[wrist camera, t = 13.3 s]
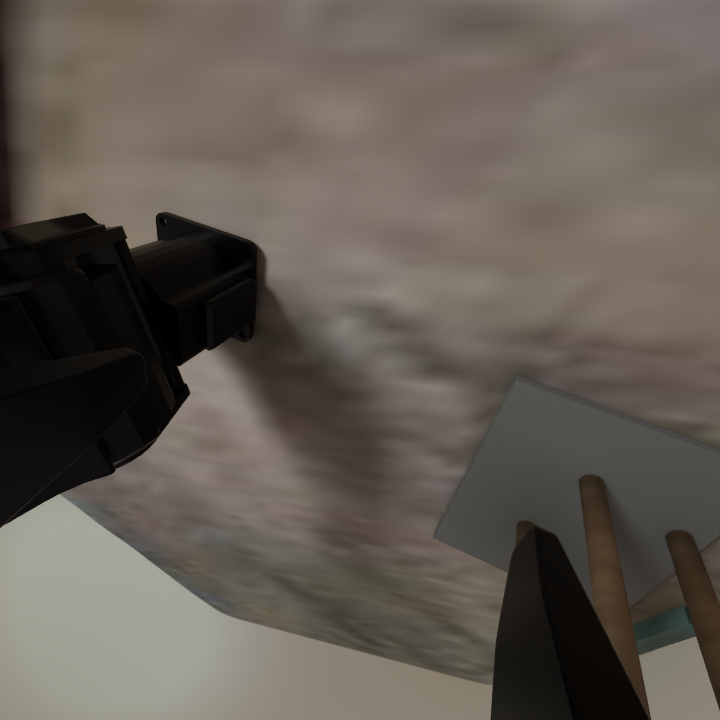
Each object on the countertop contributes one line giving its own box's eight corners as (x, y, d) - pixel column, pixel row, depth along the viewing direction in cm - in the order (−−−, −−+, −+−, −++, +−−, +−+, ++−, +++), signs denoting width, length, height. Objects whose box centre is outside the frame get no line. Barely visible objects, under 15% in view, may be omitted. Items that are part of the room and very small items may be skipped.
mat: (434, 531, 28) (433, 537, 27) (516, 375, 20) (516, 380, 20) (612, 613, 26) (613, 620, 25) (783, 471, 18) (789, 479, 17)
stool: (512, 526, 24) (496, 808, 14) (590, 470, 21) (642, 800, 11) (603, 585, 24) (654, 917, 14) (700, 539, 20) (864, 949, 10)
